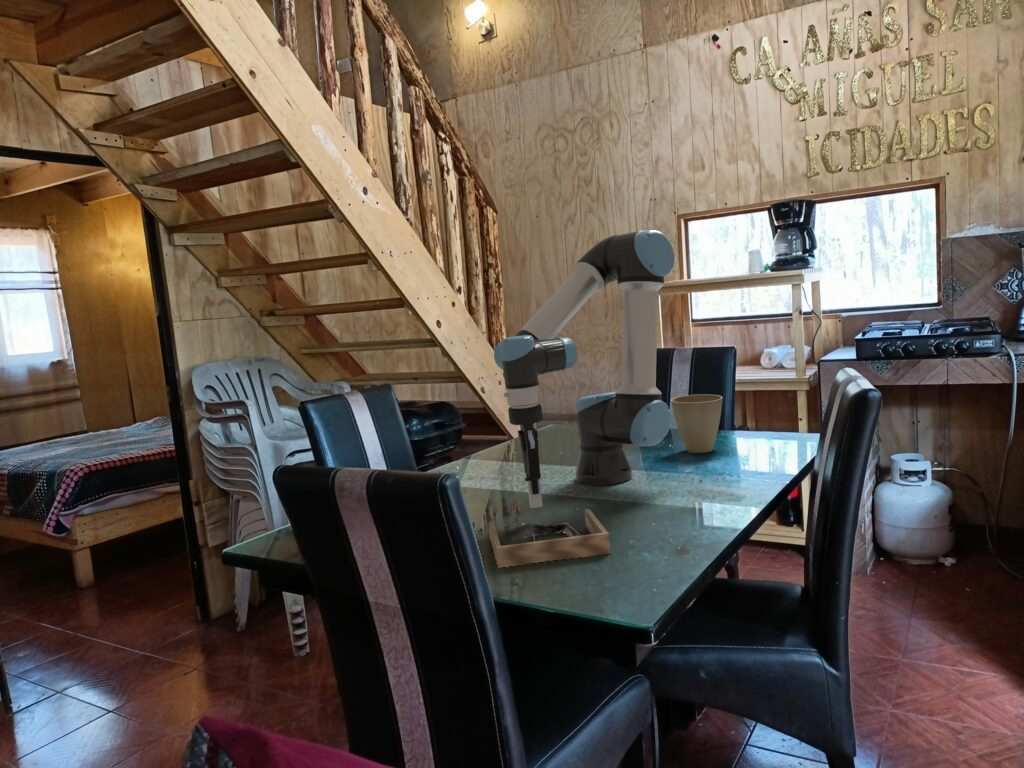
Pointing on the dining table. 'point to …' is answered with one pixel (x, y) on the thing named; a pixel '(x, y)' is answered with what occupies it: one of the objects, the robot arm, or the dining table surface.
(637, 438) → the robot arm
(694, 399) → the plant pot
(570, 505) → the dining table surface
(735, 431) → the dining table surface
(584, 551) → the box
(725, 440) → the dining table surface
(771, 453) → the dining table surface
